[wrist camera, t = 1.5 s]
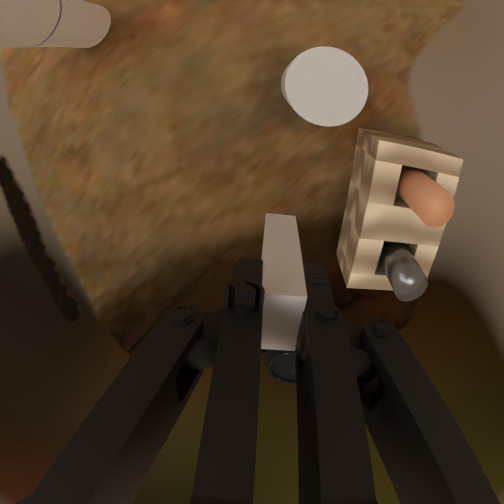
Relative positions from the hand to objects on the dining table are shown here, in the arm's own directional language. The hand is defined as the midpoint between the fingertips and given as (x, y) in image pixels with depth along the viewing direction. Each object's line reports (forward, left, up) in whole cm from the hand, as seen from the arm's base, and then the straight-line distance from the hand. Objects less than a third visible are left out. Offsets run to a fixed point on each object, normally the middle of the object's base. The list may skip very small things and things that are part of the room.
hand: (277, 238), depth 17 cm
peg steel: (+12, +17, -22) cm, 31 cm away
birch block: (+7, +17, -28) cm, 34 cm away
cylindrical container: (-18, -28, -28) cm, 44 cm away
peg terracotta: (+2, +17, -22) cm, 28 cm away
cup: (-8, +4, -28) cm, 30 cm away
